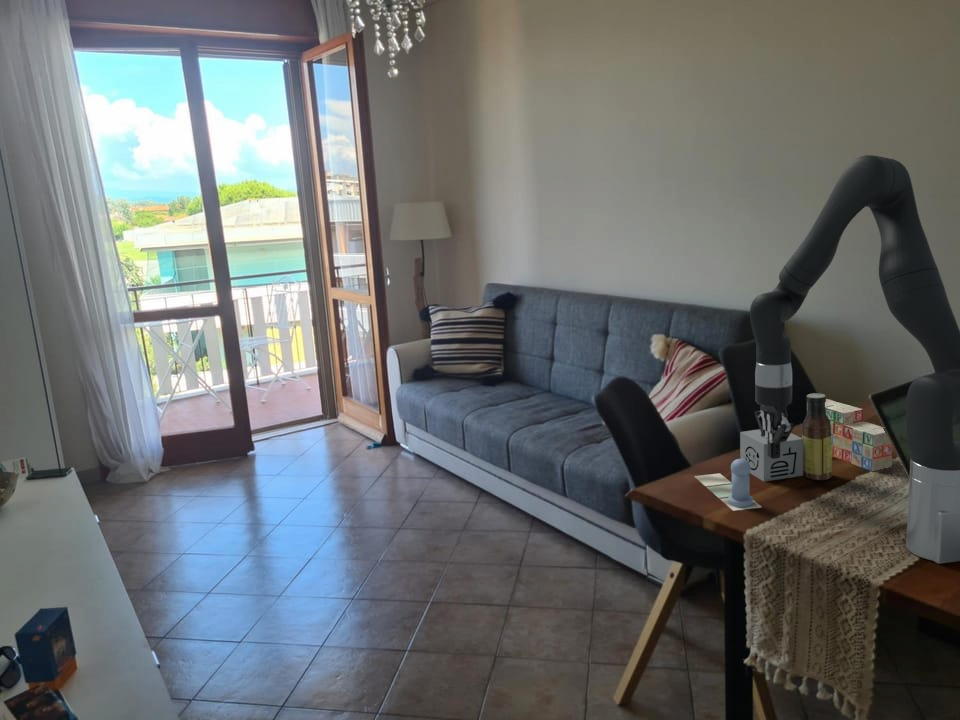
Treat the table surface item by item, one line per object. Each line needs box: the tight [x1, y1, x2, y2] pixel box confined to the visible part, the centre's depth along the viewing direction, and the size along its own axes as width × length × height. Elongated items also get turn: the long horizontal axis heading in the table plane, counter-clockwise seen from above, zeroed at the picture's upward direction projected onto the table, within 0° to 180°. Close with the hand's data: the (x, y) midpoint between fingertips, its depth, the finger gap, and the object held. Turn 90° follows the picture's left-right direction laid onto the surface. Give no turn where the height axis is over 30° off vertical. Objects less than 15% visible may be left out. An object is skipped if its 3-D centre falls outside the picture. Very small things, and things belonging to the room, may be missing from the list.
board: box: [694, 472, 762, 512], centre depth 160 cm, size 21×7×1 cm, turn 6°
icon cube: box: [739, 428, 804, 482], centre depth 169 cm, size 10×10×10 cm
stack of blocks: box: [806, 398, 894, 472], centre depth 177 cm, size 21×6×12 cm, turn 17°
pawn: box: [727, 458, 754, 508], centre depth 153 cm, size 5×5×10 cm
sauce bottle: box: [801, 392, 833, 481], centre depth 165 cm, size 7×6×20 cm
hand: (773, 457), depth 159 cm, fingers closed
